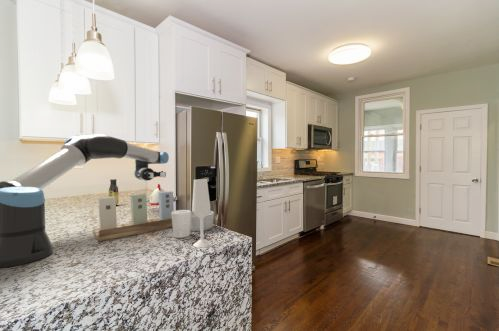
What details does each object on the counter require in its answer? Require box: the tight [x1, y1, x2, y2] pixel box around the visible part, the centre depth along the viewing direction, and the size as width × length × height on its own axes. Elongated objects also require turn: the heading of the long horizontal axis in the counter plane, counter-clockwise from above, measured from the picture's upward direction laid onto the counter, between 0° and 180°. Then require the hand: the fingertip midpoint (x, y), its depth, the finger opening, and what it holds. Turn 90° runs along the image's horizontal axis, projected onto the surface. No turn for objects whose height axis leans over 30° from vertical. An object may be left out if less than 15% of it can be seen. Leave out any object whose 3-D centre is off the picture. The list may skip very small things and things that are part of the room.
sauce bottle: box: [108, 178, 120, 205], centre depth 175 cm, size 7×6×20 cm
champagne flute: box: [191, 178, 212, 248], centre depth 88 cm, size 7×7×24 cm
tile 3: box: [158, 190, 175, 220], centre depth 122 cm, size 4×6×14 cm
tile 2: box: [130, 193, 148, 225], centre depth 114 cm, size 4×6×14 cm
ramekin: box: [190, 210, 215, 232], centre depth 111 cm, size 13×13×7 cm
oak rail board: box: [92, 217, 173, 242], centre depth 112 cm, size 16×36×4 cm, turn 129°
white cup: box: [171, 209, 192, 239], centre depth 100 cm, size 8×8×10 cm
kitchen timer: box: [148, 183, 166, 206], centre depth 180 cm, size 14×14×15 cm
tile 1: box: [98, 196, 118, 230], centre depth 105 cm, size 4×6×14 cm
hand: (158, 175), depth 129 cm, fingers open, 6 cm apart
